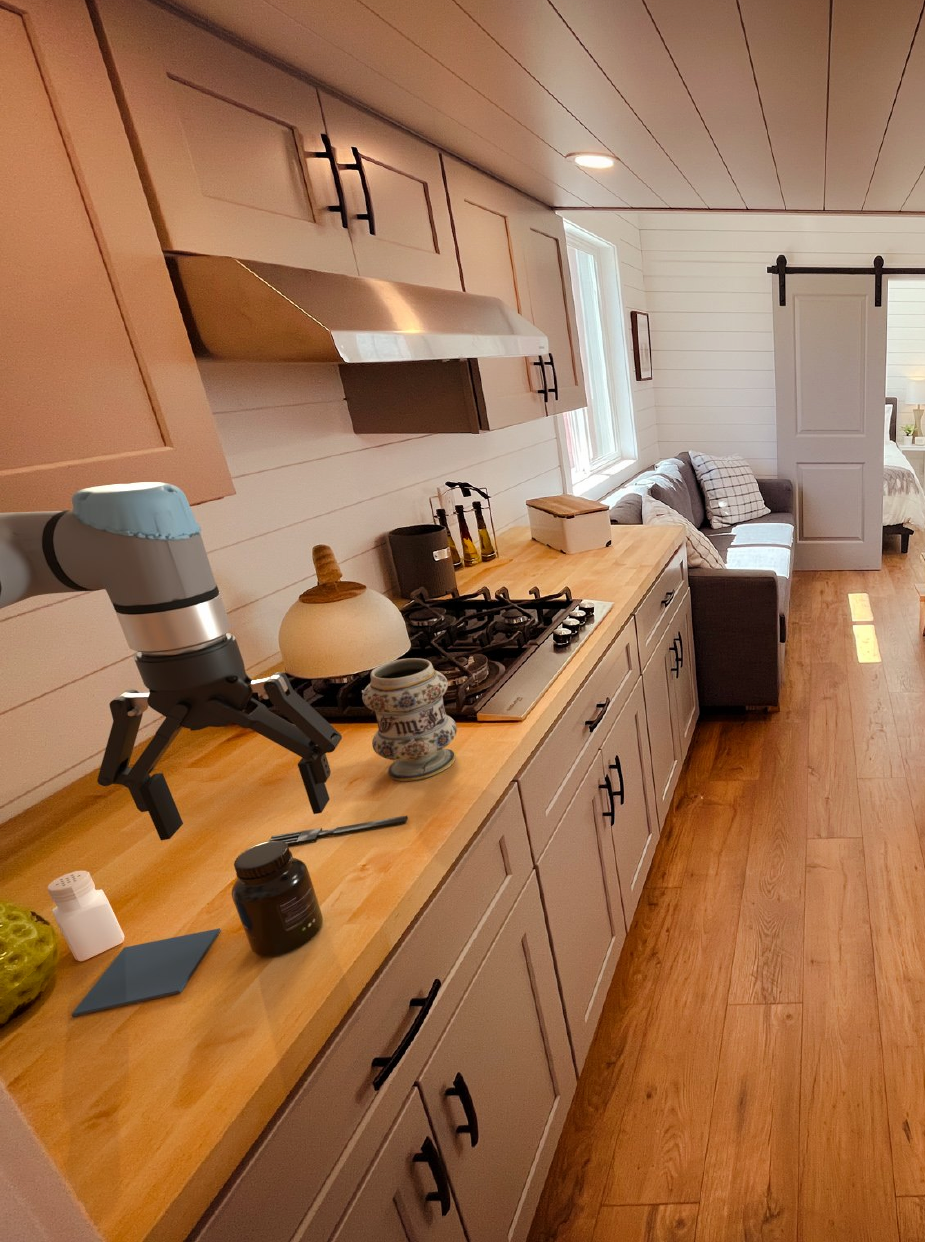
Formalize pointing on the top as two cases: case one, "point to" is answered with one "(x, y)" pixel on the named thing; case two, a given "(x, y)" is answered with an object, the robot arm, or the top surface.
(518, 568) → the top surface
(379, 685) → the apothecary jar
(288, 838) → the fork
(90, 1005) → the dark blue square coaster
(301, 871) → the supplement bottle
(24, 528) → the robot arm
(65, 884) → the pepper shaker
